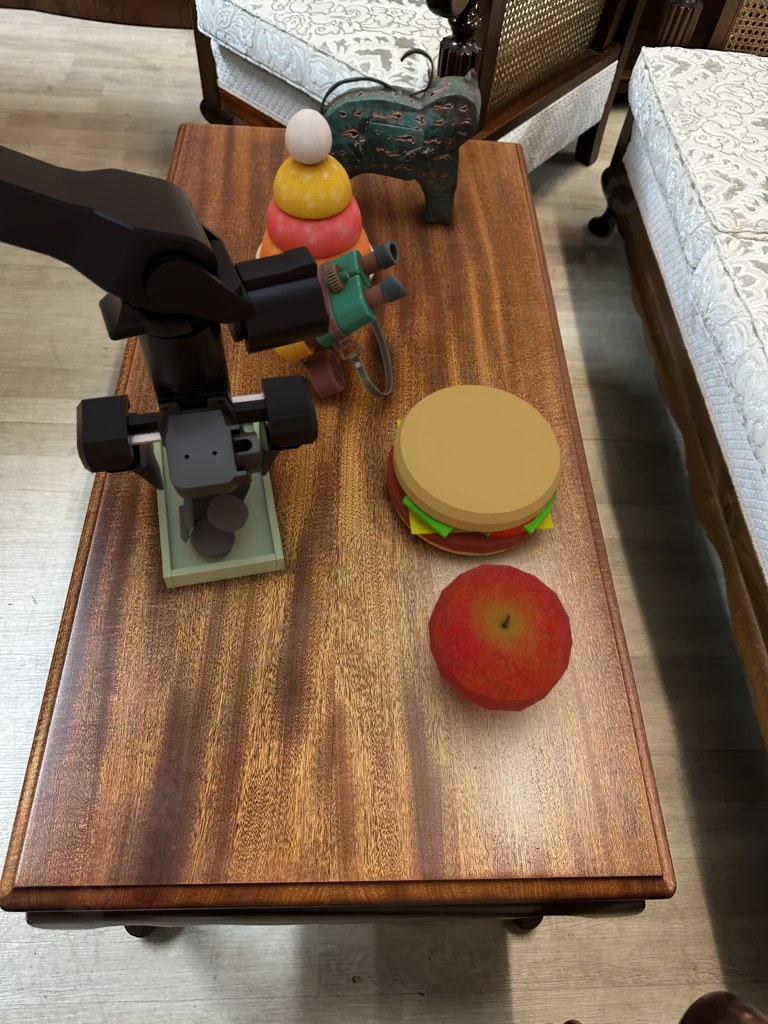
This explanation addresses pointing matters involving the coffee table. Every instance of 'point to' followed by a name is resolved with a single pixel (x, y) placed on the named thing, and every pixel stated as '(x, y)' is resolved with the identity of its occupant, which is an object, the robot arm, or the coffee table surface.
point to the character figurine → (214, 521)
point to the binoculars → (349, 318)
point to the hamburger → (474, 470)
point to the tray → (252, 543)
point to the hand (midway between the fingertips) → (212, 478)
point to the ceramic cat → (406, 132)
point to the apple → (500, 637)
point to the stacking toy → (312, 197)
